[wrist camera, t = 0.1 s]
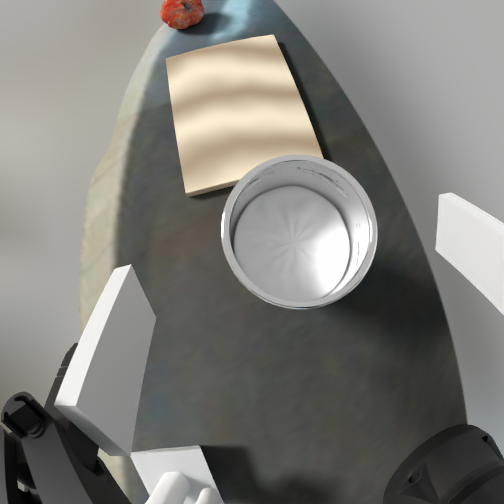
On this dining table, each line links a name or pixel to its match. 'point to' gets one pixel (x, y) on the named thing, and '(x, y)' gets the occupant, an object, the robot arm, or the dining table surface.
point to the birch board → (235, 112)
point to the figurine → (176, 476)
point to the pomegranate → (182, 13)
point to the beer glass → (299, 232)
